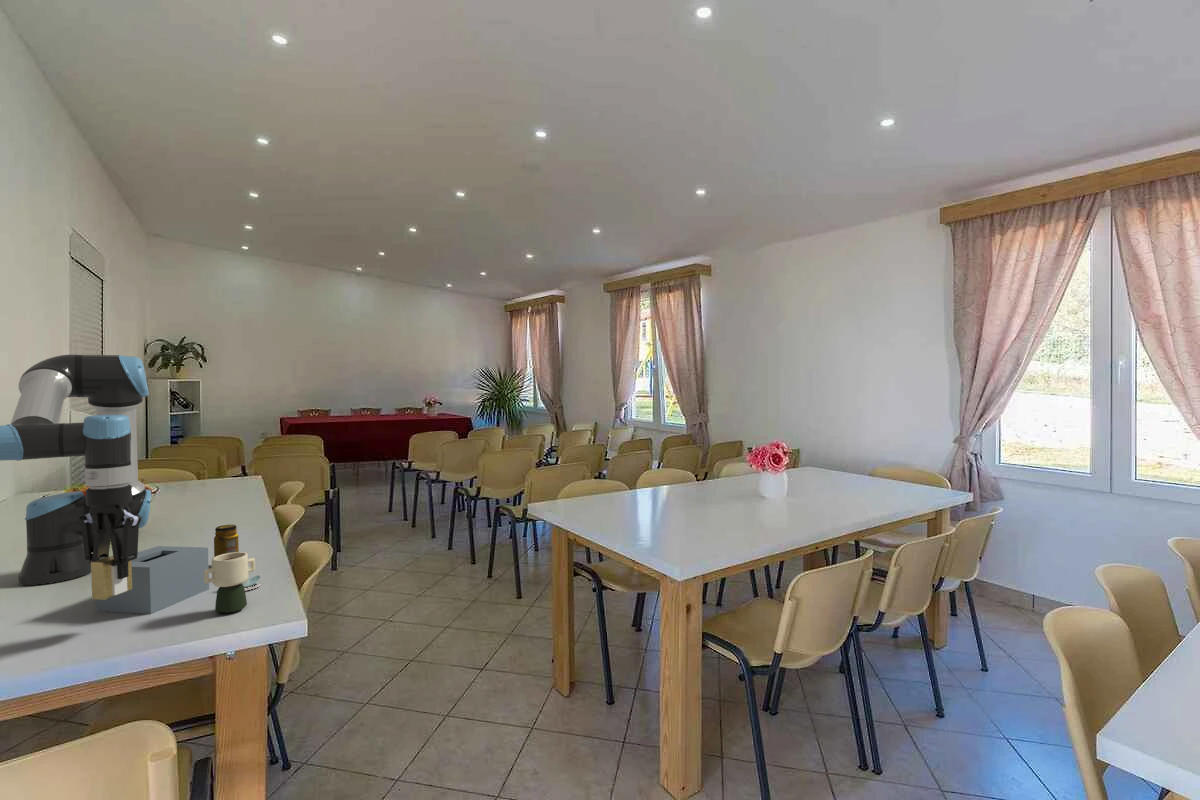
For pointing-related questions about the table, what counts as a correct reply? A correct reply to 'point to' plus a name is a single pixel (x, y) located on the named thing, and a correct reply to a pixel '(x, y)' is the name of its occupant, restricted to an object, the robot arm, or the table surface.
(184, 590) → the box
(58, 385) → the robot arm
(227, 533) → the condiment
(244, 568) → the character mug
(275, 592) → the table surface
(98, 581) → the gold brushed block
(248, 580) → the pacifier
